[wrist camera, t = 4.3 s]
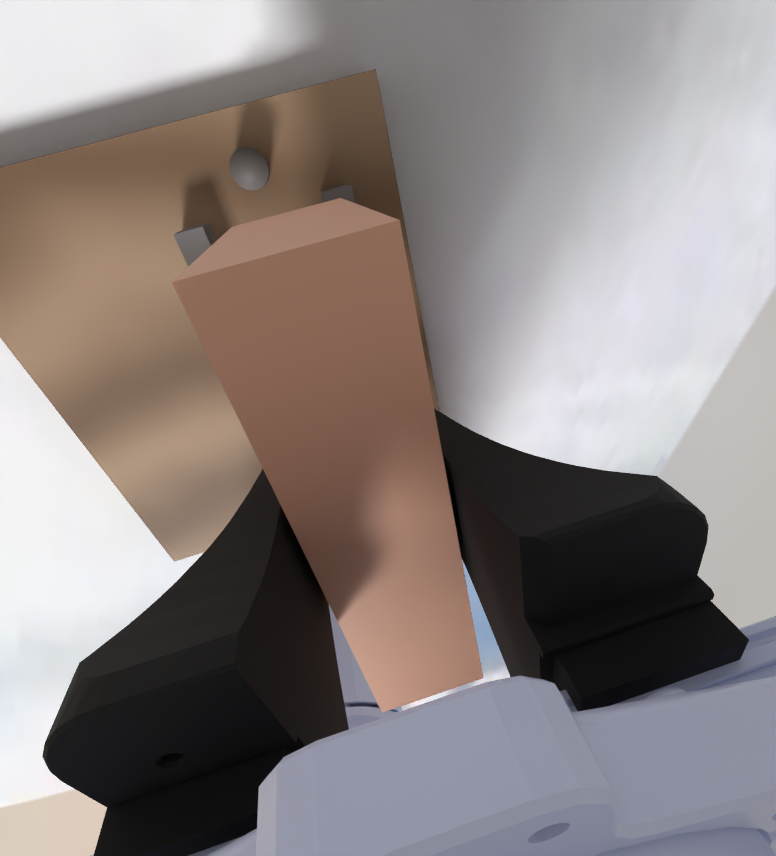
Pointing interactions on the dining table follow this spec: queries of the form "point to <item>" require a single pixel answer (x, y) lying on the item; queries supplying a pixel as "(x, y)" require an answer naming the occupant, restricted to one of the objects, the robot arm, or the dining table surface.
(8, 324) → the cabinet side board
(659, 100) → the dining table surface
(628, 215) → the dining table surface
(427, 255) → the dining table surface
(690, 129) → the dining table surface
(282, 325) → the door panel
